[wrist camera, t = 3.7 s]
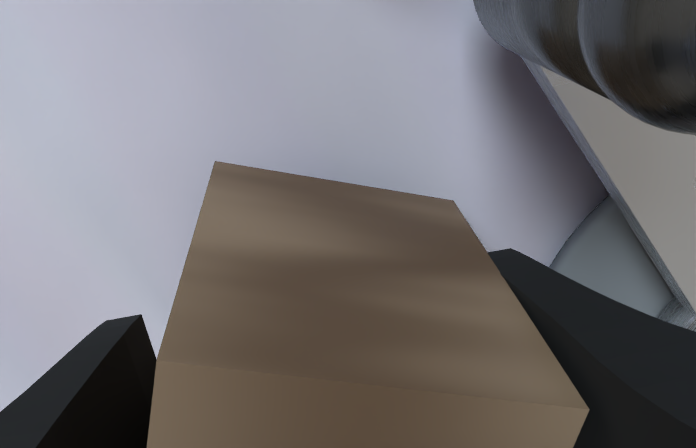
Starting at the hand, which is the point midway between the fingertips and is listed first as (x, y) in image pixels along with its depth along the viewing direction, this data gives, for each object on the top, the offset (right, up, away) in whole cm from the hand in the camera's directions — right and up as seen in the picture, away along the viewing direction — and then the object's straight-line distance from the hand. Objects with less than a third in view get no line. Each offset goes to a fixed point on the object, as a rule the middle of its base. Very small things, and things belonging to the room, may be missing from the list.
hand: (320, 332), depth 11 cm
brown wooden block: (0, +1, +1) cm, 2 cm away
